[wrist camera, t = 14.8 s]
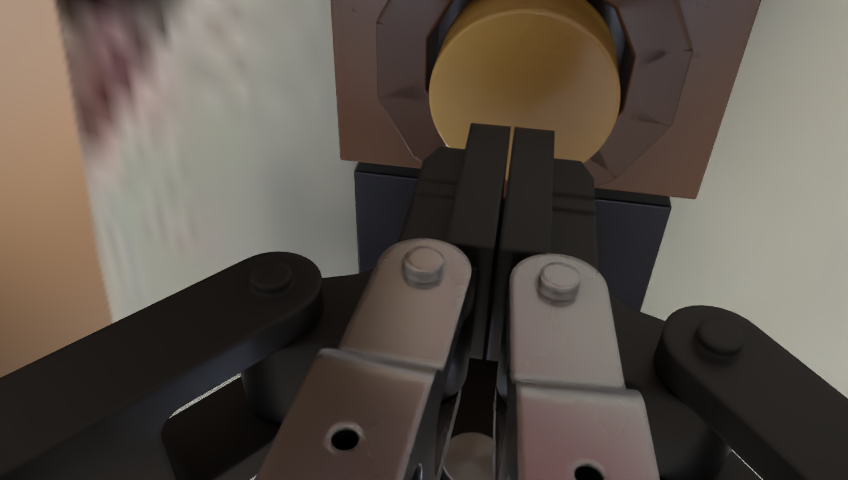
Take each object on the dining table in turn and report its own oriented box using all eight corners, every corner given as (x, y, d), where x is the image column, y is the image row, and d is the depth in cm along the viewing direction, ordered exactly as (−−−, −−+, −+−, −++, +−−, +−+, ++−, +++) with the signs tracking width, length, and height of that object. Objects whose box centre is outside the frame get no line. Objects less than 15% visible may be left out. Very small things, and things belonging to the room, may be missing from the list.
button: (437, 135, 17) (425, 172, 16) (444, -28, 15) (431, 1, 14) (599, 152, 17) (601, 192, 16) (633, -13, 15) (640, 18, 13)
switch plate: (358, 123, 22) (322, 195, 19) (346, -169, 17) (294, -136, 14) (686, 157, 21) (705, 240, 18) (778, -146, 16) (828, -103, 13)
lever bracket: (369, 325, 27) (267, 642, 18) (362, 150, 22) (218, 469, 13) (616, 359, 26) (639, 715, 17) (668, 184, 21) (736, 555, 12)
